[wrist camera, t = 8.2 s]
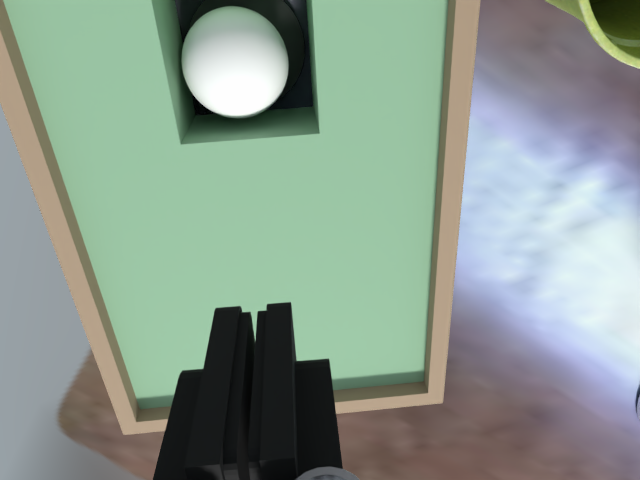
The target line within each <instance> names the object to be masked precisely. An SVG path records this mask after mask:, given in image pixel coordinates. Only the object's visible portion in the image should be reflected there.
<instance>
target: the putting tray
mask: <svg viewBox="0 0 640 480" xmlns="http://www.w3.org/2000/svg"><path fill="white" fill-rule="evenodd" d="M306 3H307V19H308V35H309V51H310V67H311V83H312V99H313V107H300V108H287V109H274V110H265V111H263V112H261V113H260V114H257V115H255V116H251V117H247V118H229V117H224V116H221V115H218V114H208V115H196V114H195V109H194V103H193V98H192V92H191V91H190V89H189V87H188V85H187V83H186V80H185V78H184V75H183V70H182V62H181V59H182V48H183V42H182V37H181V31H180V26H179V20H178V15H177V9H176V4H175V0H0V103H1V106H2V109H3V112H4V114H5V117H6V120H7V122H8V125H9V127H10V130H11V133H12V136H13V138H14V141H15V144H16V146H17V149H18V151H19V154H20V157H21V160H22V163H23V165H24V168H25V171H26V173H27V176H28V179H29V181H30V184H31V187H32V190H33V192H34V195H35V197H36V200H37V203H38V206H39V208H40V211H41V214H42V216H43V219H44V221H45V225H46V227H47V230H48V233H49V235H50V238H51V241H52V243H53V246H54V249H55V251H56V254H57V257H58V259H59V262H60V265H61V268H62V270H63V273H64V276H65V278H66V281H67V283H68V286H69V289H70V292H71V295H72V297H73V300H74V302H75V305H76V308H77V311H78V313H79V316H80V318H81V321H82V324H83V327H84V329H85V332H86V335H87V338H88V340H89V343H90V346H91V348H92V351H93V354H94V356H95V359H96V362H97V364H98V367H99V370H100V373H101V375H102V378H103V381H104V383H105V386H106V389H107V391H108V394H109V397H110V399H111V402H112V405H113V408H114V410H115V413H116V416H117V418H118V421H119V424H120V426H121V429H122V432H123V434H124V435H128V434H138V433H148V432H158V431H165V429H166V425H167V421H168V417H169V413H170V409H171V405H172V401H173V398H174V394H175V390H176V386H177V382H178V378H179V375H180V373H181V372H182V370H194V369H203V367H204V362H205V357H206V352H207V347H208V342H209V337H210V331H211V326H212V321H213V316H214V311H215V309H216V308H220V307H233V306H241V308H242V312H251V316H252V323H253V330H254V337H255V340H256V325H257V312H258V311H265V310H266V307H267V304H272V303H285V302H291V305H292V316H293V327H294V338H295V349H296V360H297V361H305V360H317V359H329V361H330V368H331V376H332V385H333V393H334V401H335V410H336V414H338V413H348V412H358V411H368V410H378V409H388V408H398V407H408V406H418V405H428V404H438V403H443V396H444V385H445V374H446V363H447V353H448V342H449V331H450V320H451V310H452V299H453V288H454V277H455V267H456V256H457V245H458V235H459V224H460V213H461V202H462V192H463V181H464V170H465V159H466V149H467V138H468V127H469V116H470V106H471V95H472V84H473V73H474V63H475V52H476V41H477V31H478V20H479V9H480V0H306ZM227 6H237V7H243V8H247V9H250V10H253V11H255V12H257V13H259V14H260V15H262V16H263V17H265V18H266V19H267V20H268V21H269V22H270V23H271V24H272V25H273V26H274V27H275V28H276V29H277V31H278V32H279V34H280V36H281V37H282V39H283V41H284V44H285V47H286V50H287V55H288V64H289V67H288V77H287V80H286V84H285V87H284V89H283V91H282V93H281V95H280V96H279V97H278V99H277V100H279V99H280V98H282V97H283V96H284V95H285V94H287V92H288V91H289V90H290V89H291V88H292V87H293V85H294V84H295V83H296V81H297V79H298V77H299V75H300V73H301V70H302V67H303V63H304V55H305V45H304V37H303V33H302V30H301V27H300V24H299V22H298V20H297V18H296V16H295V14H294V13H293V12H292V10H291V9H290V7H289V6H288V5H287V4H286V3H285V2H284V1H283V0H204V1H203V3H202V4H201V5H200V6H199V7H198V9H197V11H196V12H195V14H194V16H193V18H192V21H191V23H190V27H189V30H190V29H191V27H192V26H193V25H194V23H195V22H196V21H197V20H198V19H199V18H200V17H202V16H203V15H205V14H206V13H208V12H210V11H212V10H214V9H217V8H221V7H227ZM277 100H276V101H277Z"/></svg>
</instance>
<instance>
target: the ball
mask: <svg viewBox="0 0 640 480" xmlns="http://www.w3.org/2000/svg"><path fill="white" fill-rule="evenodd" d="M181 62H182V70H183V75H184V78H185V80H186V83H187V85H188V87H189V89H190V91H191V92H192V94H193V95H194V96H195V98H196V99H197V100H198V101H199V102H200V103H201V104H202V105H203V106H205V107H206V108H207V109H209V110H210V111H212V112H214V113H216V114H218V115H221V116H224V117H229V118H247V117H251V116H255V115H257V114H260V113H261V112H263V111H265V110H266V109H268V108H269V107H270V106H271V105H272V104H273V103H274V102H275V101H276V100H277V99H278V97H279V96H280V95H281V93H282V91H283V89H284V87H285V84H286V80H287V77H288V67H289V64H288V55H287V50H286V47H285V44H284V41H283V39H282V37H281V36H280V34H279V32H278V31H277V29H276V28H275V27H274V26H273V25H272V24H271V23H270V22H269V21H268V20H267V19H266V18H265V17H263V16H262V15H260V14H259V13H257V12H255V11H253V10H250V9H247V8H243V7H237V6H227V7H221V8H217V9H214V10H212V11H210V12H208V13H206V14H205V15H203V16H202V17H200V18H199V19H198V20H197V21H196V22H195V23H194V25H193V26H192V27H191V29H190V30H189V32H188V34H187V36H186V38H185V41H184V44H183V48H182V59H181Z"/></svg>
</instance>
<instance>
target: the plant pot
mask: <svg viewBox="0 0 640 480" xmlns="http://www.w3.org/2000/svg"><path fill="white" fill-rule="evenodd" d="M545 1H547V2H548V3H550V4H552V5H554V6H556V7H558V8H560V9H562V10H564V11H566V12H568V13H569V14H571V15H573V16H575V17H576V18H578V19H579V20H581V21H583V22H584V24H585V26H586V28H587V30H588V31H589V33H590V34H591V36H592V37H593V39H594V40H595V41H596V43H597V44H598V45H599V46H600V47H601V48H602V49H604V50H605V51H606V52H607V53H608V54H609V55H611V56H612V57H614V58H616V59H617V60H619V61H621V62H623V63H625V64H627V65H630V66H633V67H636V68H639V69H640V0H545Z"/></svg>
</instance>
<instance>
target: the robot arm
mask: <svg viewBox="0 0 640 480" xmlns="http://www.w3.org/2000/svg"><path fill="white" fill-rule="evenodd" d="M637 414H638V418H639V420H640V396H639V399H638V404H637ZM153 480H359V479H358V478H357V477H356V476H355V475H354V474H352V473H350V472H348V471H346V470H344V469H343V468H342V459H341V451H340V443H339V434H338V426H337V418H336V410H335V401H334V393H333V385H332V376H331V368H330V361H329V359H317V360H305V361H297V360H296V349H295V338H294V327H293V316H292V305H291V302H285V303H272V304H267V307H266V310H265V311H258V312H257V325H256V340H255V337H254V330H253V323H252V316H251V312H242V308H241V306H233V307H220V308H216V309H215V311H214V316H213V321H212V326H211V331H210V337H209V342H208V347H207V352H206V357H205V362H204V367H203V369H194V370H182V372H181V373H180V375H179V378H178V382H177V386H176V390H175V394H174V398H173V401H172V405H171V409H170V413H169V417H168V421H167V425H166V429H165V433H164V437H163V441H162V445H161V449H160V453H159V457H158V461H157V465H156V469H155V473H154V477H153Z"/></svg>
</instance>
